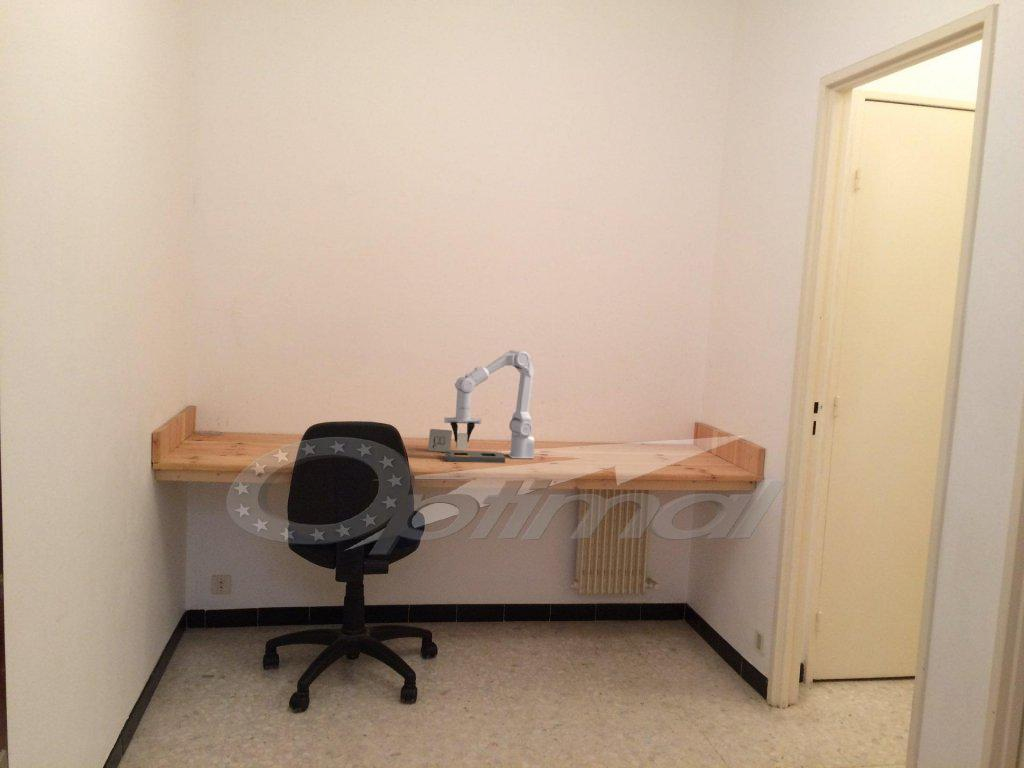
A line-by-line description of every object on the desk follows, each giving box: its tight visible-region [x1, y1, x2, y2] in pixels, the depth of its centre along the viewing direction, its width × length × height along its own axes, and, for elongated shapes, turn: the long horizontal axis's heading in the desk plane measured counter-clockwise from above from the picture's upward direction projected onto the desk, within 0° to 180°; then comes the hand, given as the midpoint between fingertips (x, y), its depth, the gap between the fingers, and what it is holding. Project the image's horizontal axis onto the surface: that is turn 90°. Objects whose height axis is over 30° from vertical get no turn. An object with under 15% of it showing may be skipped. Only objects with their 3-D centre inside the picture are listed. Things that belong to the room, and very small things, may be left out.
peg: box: [455, 432, 468, 451], centre depth 313 cm, size 4×4×6 cm
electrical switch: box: [427, 428, 453, 453], centre depth 328 cm, size 9×5×9 cm, turn 85°
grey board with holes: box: [444, 451, 506, 464], centre depth 315 cm, size 23×10×2 cm, turn 101°
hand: (461, 441), depth 313 cm, fingers closed on peg, 4 cm apart
